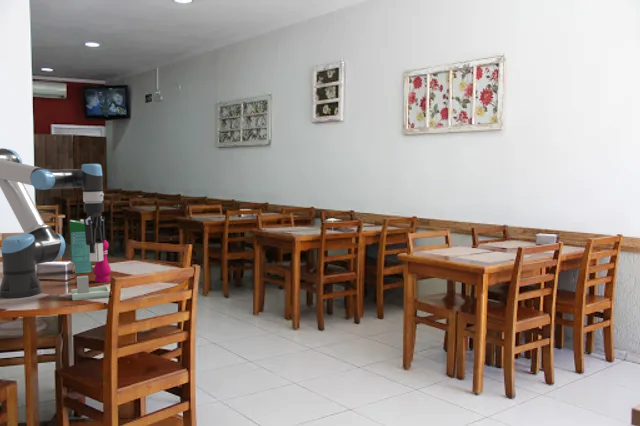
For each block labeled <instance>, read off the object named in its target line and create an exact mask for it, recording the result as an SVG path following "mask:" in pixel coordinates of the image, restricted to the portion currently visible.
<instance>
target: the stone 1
mask: <svg viewBox="0 0 640 426" xmlns="http://www.w3.org/2000/svg"><path fill="white" fill-rule="evenodd" d="M89 282H90V281H89V276H88V275H79V276H77V275H76V289H77V294H82V293H89V288H90V287H89Z"/></svg>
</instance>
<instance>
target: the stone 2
mask: <svg viewBox="0 0 640 426" xmlns="http://www.w3.org/2000/svg"><path fill="white" fill-rule="evenodd" d="M95 245H97V261H90V250H89V262H92V263H94V262H95V263H96V262H99V261H102V260H104V259H103V243H95Z"/></svg>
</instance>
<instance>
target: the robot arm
mask: <svg viewBox="0 0 640 426" xmlns="http://www.w3.org/2000/svg"><path fill="white" fill-rule="evenodd" d="M25 185H29V186H31V187H34V189H36V190H44V191H45V190H53V189H54V190H55V189H56V190H57V189H70V188H71V189H76V188H77V189H79V188H81V189H82V196H83V197H82V200H83V201H82V202H83V212H84V213H86V214H87V216H86V219H83V220H84V225H85V237H86V245H89V250H90V261H97V245H95V242H96V243H104V242H105V241H104V240H106V238H105V237H106V236H105V233H106V232H105V220H106V219H105V216H102V214H101V213H103V212H104V211H105V208H104V207H105V204H104V202H103V201H104V196H105V194H104V189H103V188H104V187H103V169H102V165H101V164H100V163H83V164H81V168H80V169H79V168H74V169H73V168H64V169H61V168H60V169H48V168H43V167H40V166H34V165H29V164H26V163H23V161H22V158H21V156H20V154H18V153H17V152H16V151H14V150H13V149H11V148H10V149H7V148H0V189H1V191H2V193H3V194H4V197H5V199H6V200H7V203H8V204H9V206H10V209H11V210H12V212H13V214H14V216H15V218H16V220H17V221H18V223H19V225H20V228H21V229H22V232H23V233H20V234H14V235H13V234H12V235H10V236H6V237H5V238H3V239H2V241H1V249H0V250H1V259H2V260H1V261H2V279H1V282H0V296H1V298H7V299H9V298H24V297H25V298H26V297H31V296H36V295H39V294H41V293H42V286H41V283H40V281H39V278H38V276H37V272H36V270H37V269H36V265H41V264H45V263H51V262H54V261H57V260H59V259H60V258H62V256H63V255H64V253H65V249H66V241H65V239H64V237H63V236H62V235H61V234H60V233H58V232H54V230H53V228H52V227H51V225H48V224H45V222H44V219H43V217H42V216H41V214H40V213H39V211H38V209H37V207H36V204H35V203H34V201H33V200H32V197H31V195H30V194H29V191H28V190H27V188H26V186H25Z"/></svg>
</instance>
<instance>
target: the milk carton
mask: <svg viewBox="0 0 640 426" xmlns="http://www.w3.org/2000/svg"><path fill="white" fill-rule="evenodd" d="M84 220H85V219H79V220H74V219H70V220H69V233H70V234H69V236H70V237H69V238H70V258H71V259H70V261H71V262H73V263H74V264H75V273H74V274H85V273H86V274H87V273H93V262H89V245H86V237H85V225H84Z"/></svg>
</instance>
